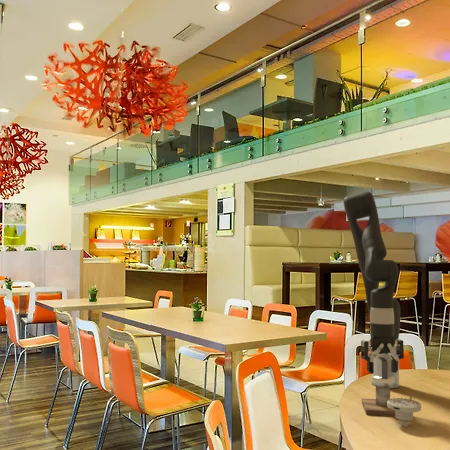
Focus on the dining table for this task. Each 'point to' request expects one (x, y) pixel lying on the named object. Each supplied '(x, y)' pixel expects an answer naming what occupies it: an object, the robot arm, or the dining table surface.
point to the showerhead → (404, 409)
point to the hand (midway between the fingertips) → (382, 372)
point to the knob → (382, 375)
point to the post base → (375, 408)
